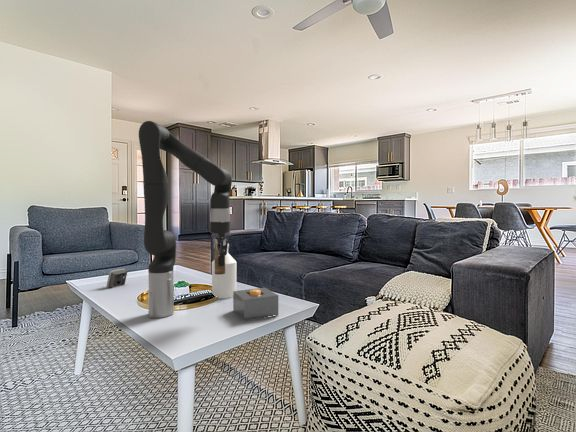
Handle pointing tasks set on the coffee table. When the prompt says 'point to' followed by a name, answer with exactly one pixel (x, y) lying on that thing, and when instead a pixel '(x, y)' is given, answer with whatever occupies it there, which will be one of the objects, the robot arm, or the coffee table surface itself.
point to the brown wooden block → (218, 269)
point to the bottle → (225, 278)
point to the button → (255, 292)
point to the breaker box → (255, 304)
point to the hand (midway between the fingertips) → (219, 264)
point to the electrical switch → (116, 278)
